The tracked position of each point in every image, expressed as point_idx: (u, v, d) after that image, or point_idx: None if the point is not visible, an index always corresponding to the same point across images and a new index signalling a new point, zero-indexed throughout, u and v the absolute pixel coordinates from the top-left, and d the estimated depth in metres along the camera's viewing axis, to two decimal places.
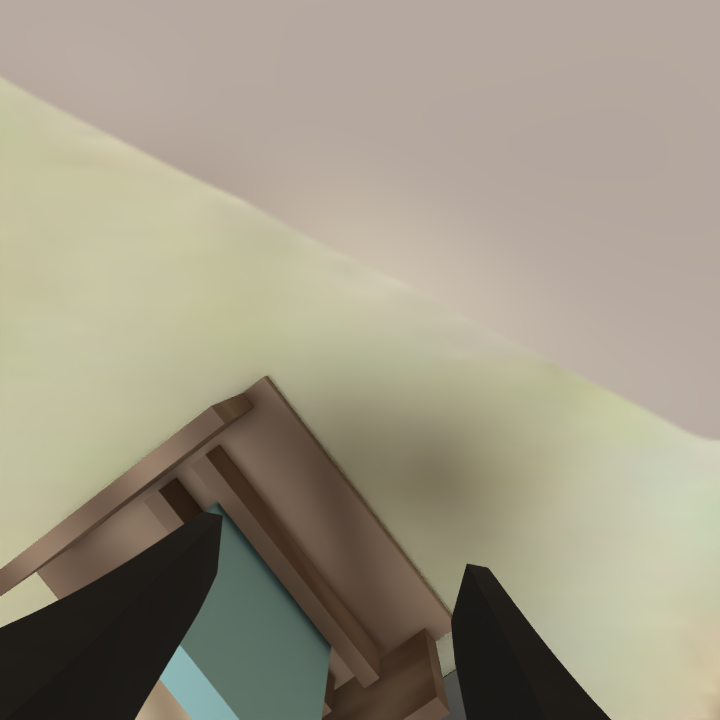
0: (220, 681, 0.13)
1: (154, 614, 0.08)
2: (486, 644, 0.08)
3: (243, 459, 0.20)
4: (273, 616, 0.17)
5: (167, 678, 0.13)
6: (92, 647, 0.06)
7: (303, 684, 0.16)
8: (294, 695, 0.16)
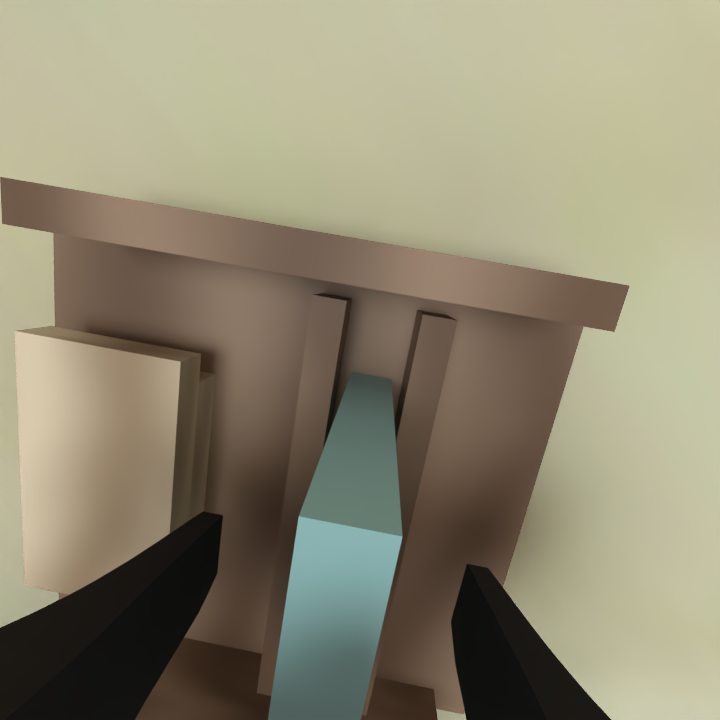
0: None
1: (154, 614, 0.08)
2: (486, 644, 0.08)
3: (454, 361, 0.12)
4: None
5: (286, 701, 0.06)
6: (93, 647, 0.06)
7: None
8: None
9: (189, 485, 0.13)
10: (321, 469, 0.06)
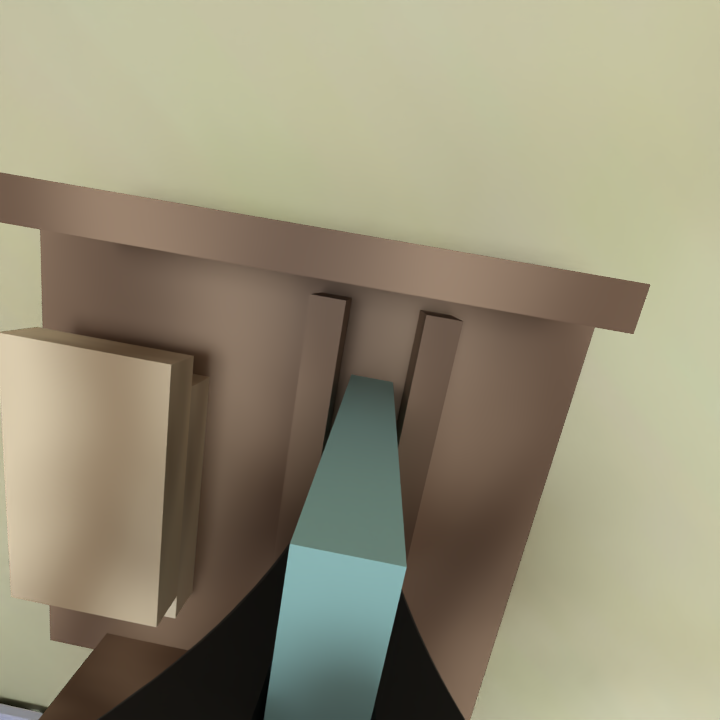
0: None
1: None
2: None
3: (458, 364, 0.12)
4: None
5: None
6: (264, 684, 0.06)
7: None
8: None
9: (181, 493, 0.12)
10: (317, 486, 0.06)
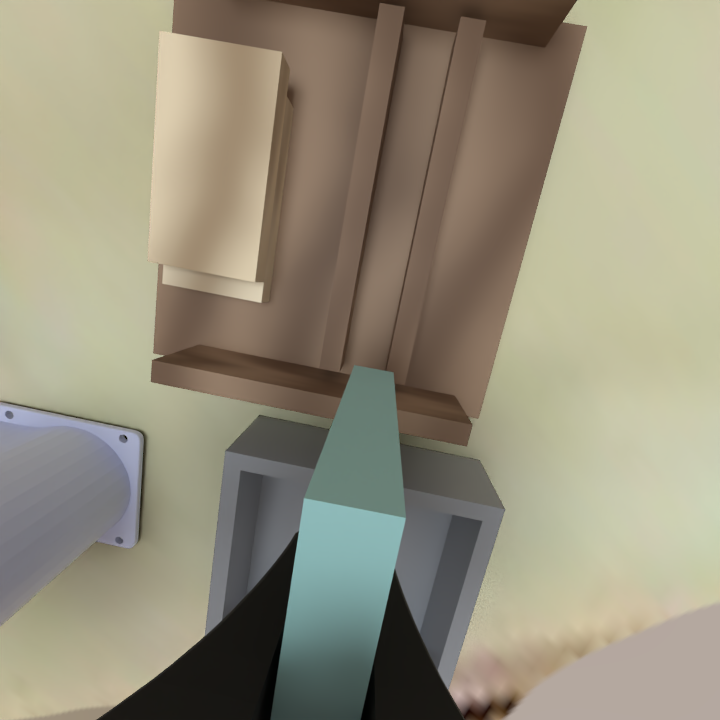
0: None
1: None
2: None
3: (479, 90, 0.16)
4: None
5: (291, 681, 0.06)
6: (264, 684, 0.06)
7: None
8: None
9: (273, 189, 0.16)
10: (325, 455, 0.06)
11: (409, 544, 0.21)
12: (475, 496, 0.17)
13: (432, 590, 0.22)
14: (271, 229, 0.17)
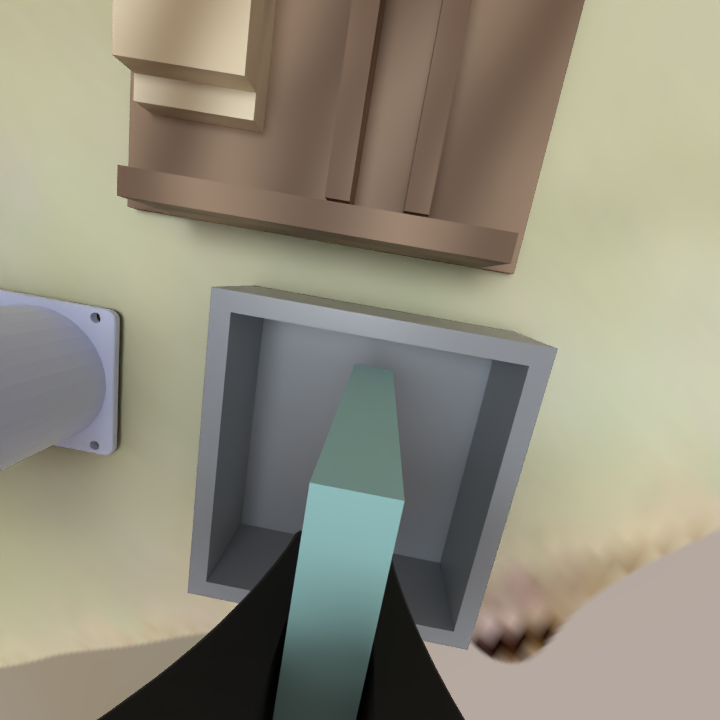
0: None
1: None
2: None
3: None
4: None
5: (297, 658, 0.06)
6: (264, 683, 0.06)
7: None
8: None
9: None
10: (328, 445, 0.06)
11: (432, 437, 0.18)
12: (518, 340, 0.14)
13: (459, 493, 0.19)
14: (264, 22, 0.14)
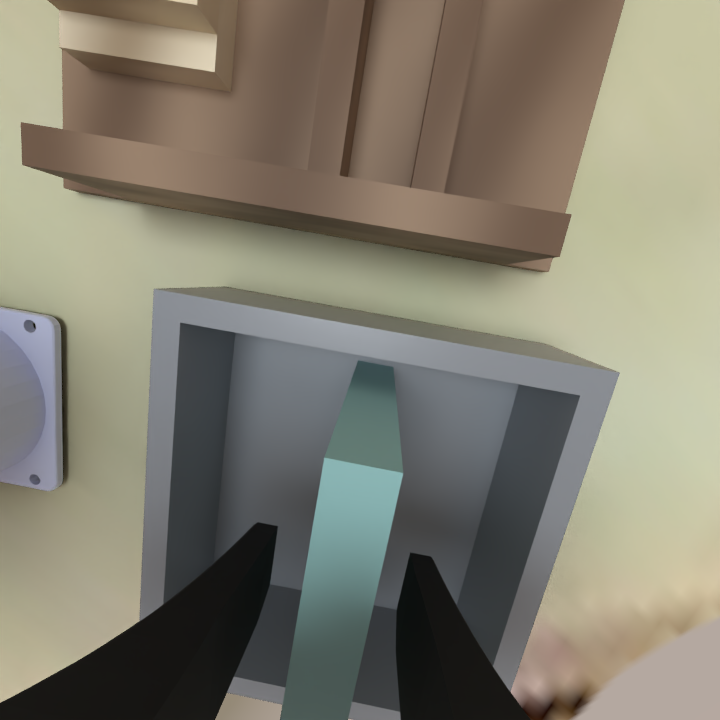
0: None
1: (228, 629, 0.08)
2: (416, 630, 0.08)
3: None
4: None
5: (311, 608, 0.07)
6: (189, 668, 0.06)
7: None
8: None
9: None
10: (338, 429, 0.08)
11: (443, 473, 0.15)
12: (564, 360, 0.10)
13: (476, 540, 0.15)
14: None
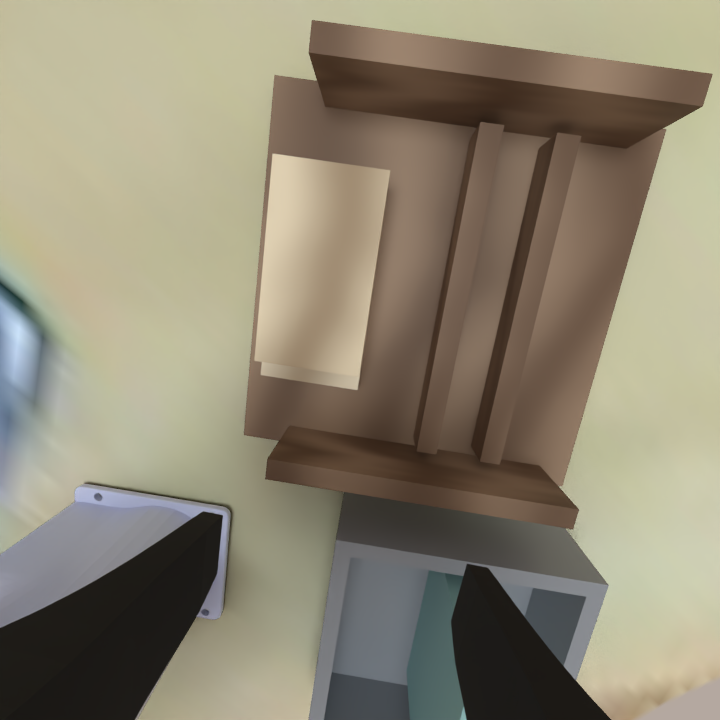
0: None
1: (153, 614, 0.08)
2: (486, 644, 0.08)
3: None
4: None
5: None
6: (92, 648, 0.06)
7: None
8: None
9: None
10: None
11: None
12: (576, 571, 0.17)
13: None
14: None
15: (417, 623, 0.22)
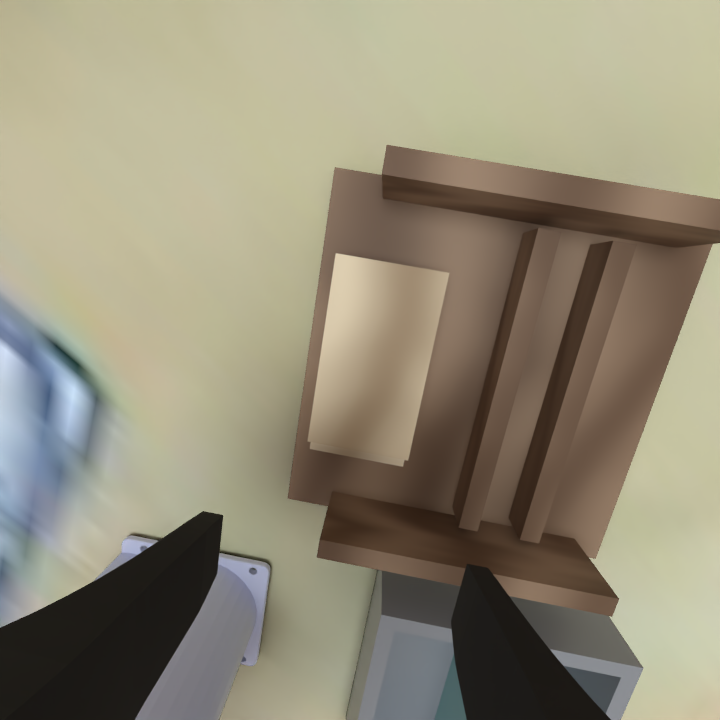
0: None
1: (154, 614, 0.08)
2: (486, 644, 0.08)
3: None
4: None
5: None
6: (93, 648, 0.06)
7: None
8: None
9: None
10: None
11: None
12: (611, 651, 0.18)
13: None
14: None
15: (447, 678, 0.23)
